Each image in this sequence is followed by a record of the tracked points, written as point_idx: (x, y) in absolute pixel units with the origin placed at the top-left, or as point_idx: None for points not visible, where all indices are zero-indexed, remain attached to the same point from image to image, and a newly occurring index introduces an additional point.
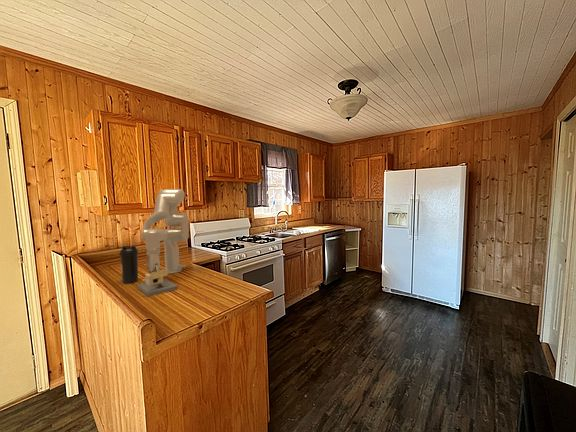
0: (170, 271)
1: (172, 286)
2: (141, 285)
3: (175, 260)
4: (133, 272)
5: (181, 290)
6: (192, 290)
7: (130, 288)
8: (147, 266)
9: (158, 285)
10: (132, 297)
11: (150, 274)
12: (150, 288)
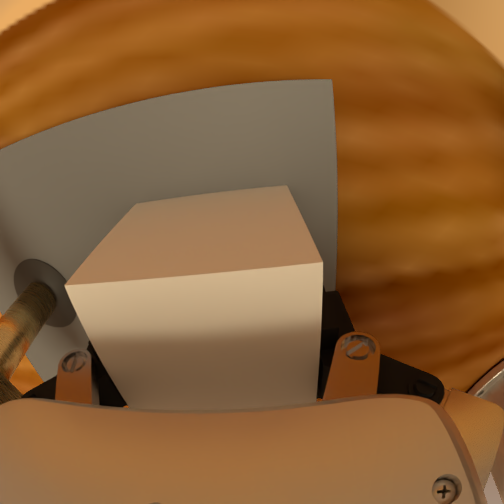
0: (486, 391)
1: (39, 362)
2: (231, 118)
3: (493, 465)
4: None
5: (30, 368)
6: (23, 394)
7: (351, 17)
8: (342, 499)
9: (21, 294)
10: (4, 45)
11: (167, 340)
12: (33, 210)
